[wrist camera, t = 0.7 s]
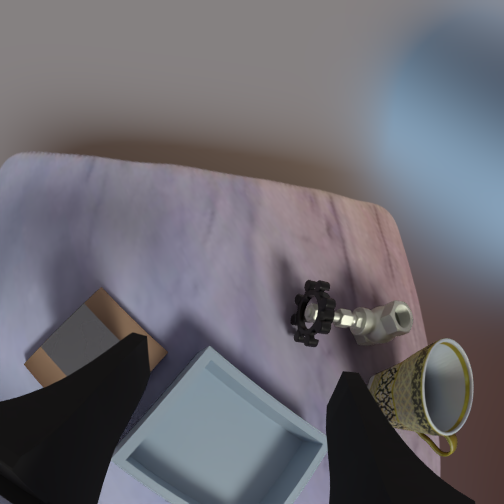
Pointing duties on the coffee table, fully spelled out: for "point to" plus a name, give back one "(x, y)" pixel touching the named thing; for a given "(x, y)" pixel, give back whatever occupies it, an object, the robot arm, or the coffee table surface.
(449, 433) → the ceramic cup
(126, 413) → the robot arm
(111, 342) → the grey rectangular block
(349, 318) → the valve
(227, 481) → the bin
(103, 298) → the stud block
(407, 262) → the coffee table surface
